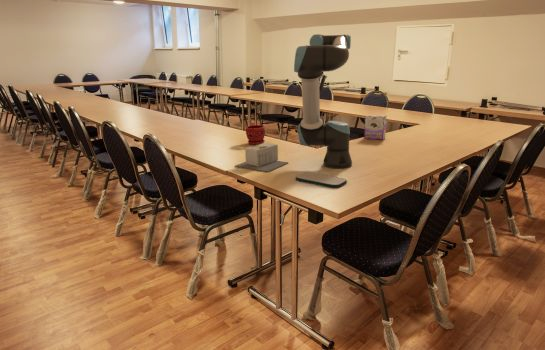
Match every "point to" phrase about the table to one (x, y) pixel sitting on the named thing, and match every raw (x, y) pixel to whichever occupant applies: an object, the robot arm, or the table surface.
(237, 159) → the table surface
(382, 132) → the candy box
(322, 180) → the external hard drive
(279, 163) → the grey rubber mat
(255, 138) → the plant pot
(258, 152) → the supplement box
